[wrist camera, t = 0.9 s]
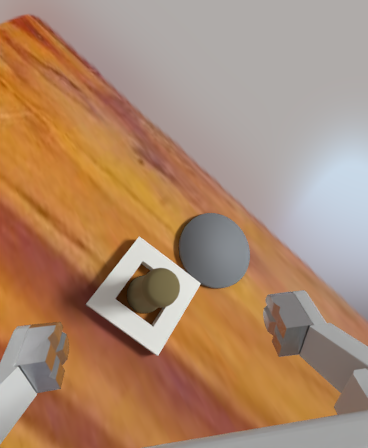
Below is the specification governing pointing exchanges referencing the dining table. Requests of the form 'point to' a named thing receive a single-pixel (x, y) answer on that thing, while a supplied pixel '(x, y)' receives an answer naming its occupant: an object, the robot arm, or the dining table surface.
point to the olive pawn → (153, 290)
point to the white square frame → (128, 320)
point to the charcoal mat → (214, 250)
